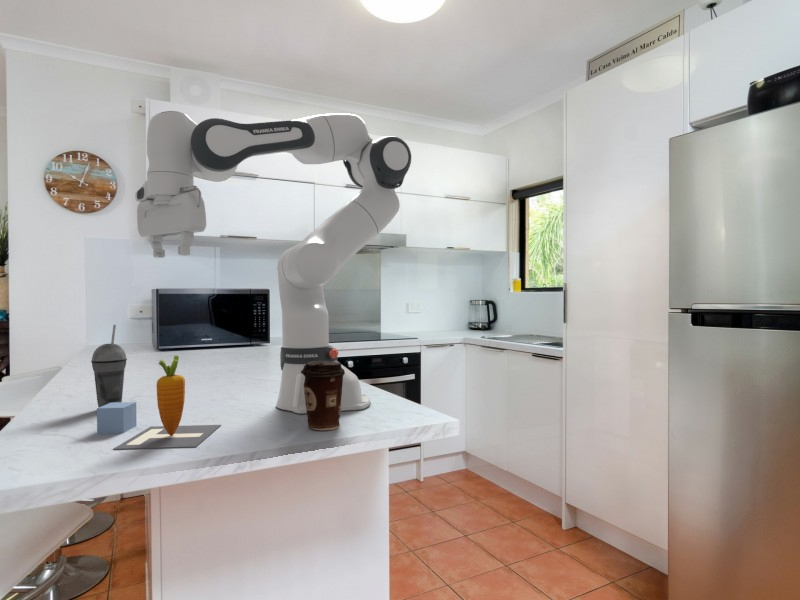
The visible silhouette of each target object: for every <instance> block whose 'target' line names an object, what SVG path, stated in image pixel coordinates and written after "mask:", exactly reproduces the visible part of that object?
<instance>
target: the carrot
mask: <svg viewBox="0 0 800 600" xmlns="http://www.w3.org/2000/svg"><path fill="white" fill-rule="evenodd" d="M179 357H180V356H178V355H174V356H173V360H172V362H171V365H167V364H166V362H165V361H164V360H163V359H161V360H159V362H158V365H159V366H161V367H162V369H163V371H164V373H165V375H162V376H160V377H159V378H158V380H157V381H156V400H157V409H158V412H159V417H160V421H161V424H162V426H164V428H165V430H166V431H167V433H168V434H169V435H170V436H173V435H174V433H175V432H176V430H177V428H178V426H180V423H181V420H182V416H183V412H184V405H185V395H186V389H185V388H186V379H185V376H184V377H183V375H179V374H176V370H177V368H178V364H179Z"/></svg>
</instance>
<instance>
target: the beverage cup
mask: <svg viewBox="0 0 800 600" xmlns="http://www.w3.org/2000/svg"><path fill="white" fill-rule="evenodd" d="M112 326H113V327H112V333H111V342H110V343H103V344H101V345H99V346H98V347H97V348H96V349H95V350H94V351H93V354H92V357H91V360H90V363H91V366H92V371H93V373H94V382H95V383H94V384H95V394H96V401H97V402H96V403H97V408H99V407H101V406H104V405H106V404H109V403H115V402H123V392H124V391H123V390H124V383H125V382H124V381H125V369H126V365H127V361H128V358H127V354H126V352H125V350H124V349H123V347H121V346H120V345H118V344H117V343H115V337H116V336H115V335H116V330H117V329H116V327H117V325H116V324H113V325H112Z"/></svg>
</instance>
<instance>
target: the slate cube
mask: <svg viewBox="0 0 800 600" xmlns="http://www.w3.org/2000/svg"><path fill="white" fill-rule="evenodd" d="M135 427H137V401H128V402H127V401H122V402H115V403H109V404H106V405H104V406H101V407H99V408H98V407H97V408H96V434H125V433H126V432H128V431H130V430H132V429H133V428H135Z"/></svg>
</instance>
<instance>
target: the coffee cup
mask: <svg viewBox="0 0 800 600" xmlns="http://www.w3.org/2000/svg"><path fill="white" fill-rule="evenodd" d="M341 364H342V363H341V362H339V361H338V362H330V361H310V362H307V363H306V365H304V368H303V370H302V371H301V373H302V374H303V375H304V376H305V382H304V395H305V404H306V411H307V413H306V416H307V427H308V428H310V429H312V430H313V431H314V430H315V431H320V432H321V431H333V430H337V429H338V428H340V424H341V423H340V419H341V412H342V411H341V399H342V386H343V375H344V374H345V371H344V369H343V368H342V367H341Z"/></svg>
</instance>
